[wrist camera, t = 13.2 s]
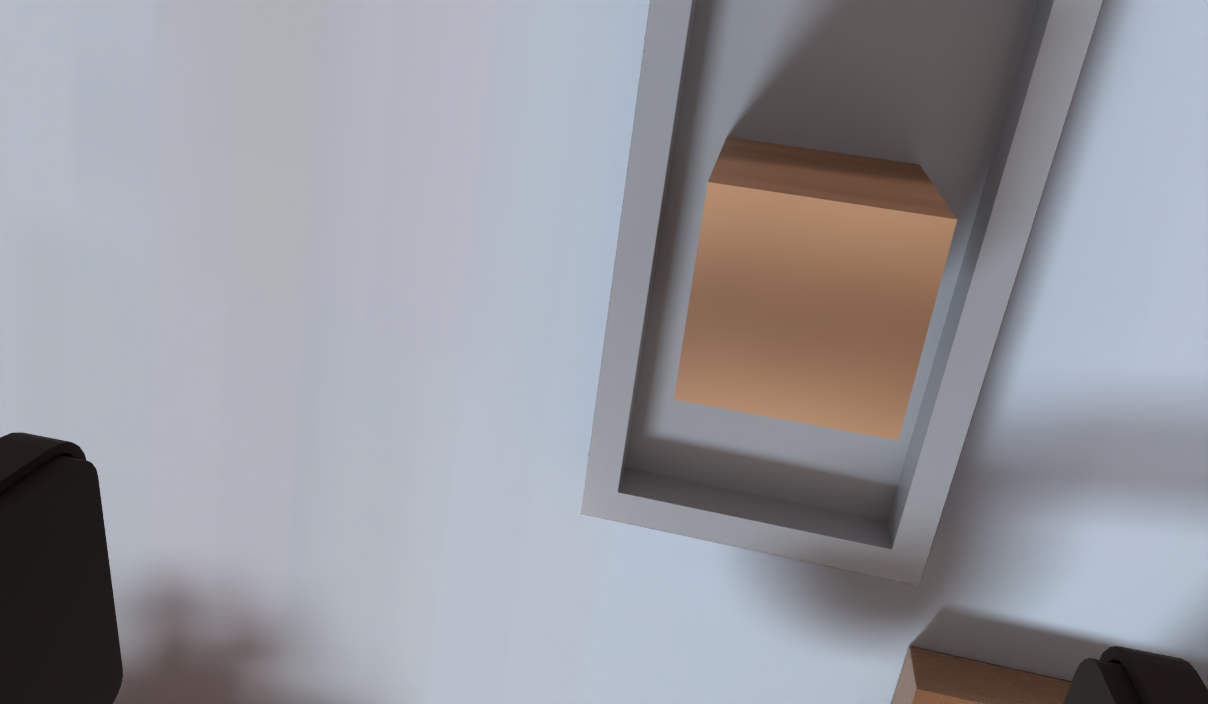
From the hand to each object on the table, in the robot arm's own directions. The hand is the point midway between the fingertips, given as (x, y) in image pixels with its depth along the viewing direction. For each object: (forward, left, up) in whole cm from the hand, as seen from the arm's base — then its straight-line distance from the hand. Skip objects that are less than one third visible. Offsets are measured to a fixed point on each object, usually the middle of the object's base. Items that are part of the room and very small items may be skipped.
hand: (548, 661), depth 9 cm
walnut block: (0, +3, -18) cm, 18 cm away
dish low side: (0, +3, -19) cm, 19 cm away
